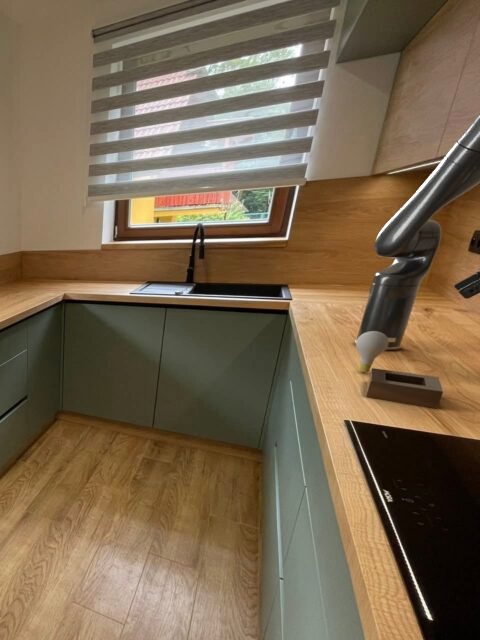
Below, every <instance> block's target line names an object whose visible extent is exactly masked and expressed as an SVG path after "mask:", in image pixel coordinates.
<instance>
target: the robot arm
mask: <svg viewBox="0 0 480 640" xmlns="http://www.w3.org/2000/svg"><path fill="white" fill-rule="evenodd" d="M479 184H480V112H479V113H478V115H476V117H475V119H474V120H473V121H472V122H471V124H470V125H469V126H468V127H467V129H465V131H464V132H463V133H462V135H460V137H459V138H458V139H457V141H456V142H455V143H454V144H453V145H452V146H451V148H450V149H449V150H448V152H447V153H446V154H445V156H444V157H442V160H441V161H440V162H439V164H438V165H437V166H436V168H435V169H434V170H433V171H431V173H430V175H429V176H427V178H426V179H425V180H424V182H423V183H422V184H421V185H420V187H418V189H417V190H416V192H415V193H413V195H412V196H411V197H410V198H409V199H408V200H407V202H406V203H404V205H403V206H402V207H400V209H399V210H398V211H397V212H396V213H395V214H394V215H393V216H392V217H391V218H390V219H389V220H388V221H387V222H386V223H385V225H384V226H383V227H381V230H380V231H379V232H378V234H377V236H376V238H375V240H374V245H373V248H374V252H375V254H376V255H377V256H379V257H381V258H385V259H386V258H387V259H394V261H393V262H392V264H390V265H389V266H387V267H386V268H384V269H381V270H379V271H377V272H376V273H374V276H373V278H372V283H371V285H370V290H369V292H368V297H367V300H366V304H365V306H364V311H363V315H362V318H361V321H360V325H359V328H358V331H357V335H356V338H355V340H354V345H356V341H357V339H358V338H359V336H361V335H362V334H363V333H366V332H370V331H377V332H381V333H383V334H385V335H386V336H387V338H388V341H389V343H388V347H387V348H386V350H385V351H396V350H398V351H399V350H400V349H401V347H402V342H403V339H404V336H405V332H406V330H407V327H408V324H409V321H410V317H411V315H412V312H413V308H414V305H415V301H416V298H417V296H418V292H419V289H420V285H421V283H422V281H423V279H424V277H426V275H427V274H428V273H429V271H430V269H431V267H432V265H433V261H434V259H435V256H436V254H437V251H438V249H439V247H440V244H441V240H442V235H443V234H442V227H441V225H440V223H439V222H437V221H436V220H434V219H431V218H433V216H434V215H436V214H437V213H439V211H440V210H441V209H443V208H444V207H445V206H447V205H448V204H449V203H451V202H452V201H454V200H455V199H457V198H458V197H461V196H462V195H463V194H465V193H467V192H468V191H470V190H472V189H473V188H474V187H476V186H477V185H479ZM453 287H454V289H455V290H457V291H458V293H459V295H461V296H462V298H464V299H466V300H468V299H471V298H473V297H474V296H476V295H478V294H480V268H478V270H477V271H476V272H475V273H474V274H471V275H469V276H468V277H466V278H464V279H462V280H460V281H458V282H457V283H455V284H454V285H453Z"/></svg>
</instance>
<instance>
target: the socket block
mask: <svg viewBox="0 0 480 640" xmlns="http://www.w3.org/2000/svg"><path fill="white" fill-rule="evenodd" d="M443 393H444V390H443V387H442V384H441V381H440V377H439V376H436V375H435V376H434V375H427V374H418V373H411V372H403V371H397V370H390V369H383V368H382V369H381V368H375V367H371V368H370V371H369V376H368V379H367V383H366V391H365V397H366V398H372V399H378V400H382V401H390V402H395V403H400V404H401V403H402V404H407V405H413V406H419V407H426V408H432V409H438V407H439V404H440V401H441V399H442V396H443Z"/></svg>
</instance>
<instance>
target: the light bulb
mask: <svg viewBox="0 0 480 640" xmlns="http://www.w3.org/2000/svg"><path fill="white" fill-rule="evenodd" d="M356 339H357V338H356ZM388 343H389V341H388V338H387V336H386V335H385V334H383V333H381V332H377V331H370V332H366V333H363V334H362V335H361V336H359V338H358V339H357V341H356V344H355V345H356V346H355V347H356V349H357V352H358V354H359V357H360V360H359V366H358V371H359V372H361V373H362V374H366V373H370V372H371V369H372V365H373V364H374V361H375V359H377V358H378V357H379V356H380V355H381V354H383V353H384V352H385V351H387V350H386V348H387V347H388Z"/></svg>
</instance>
